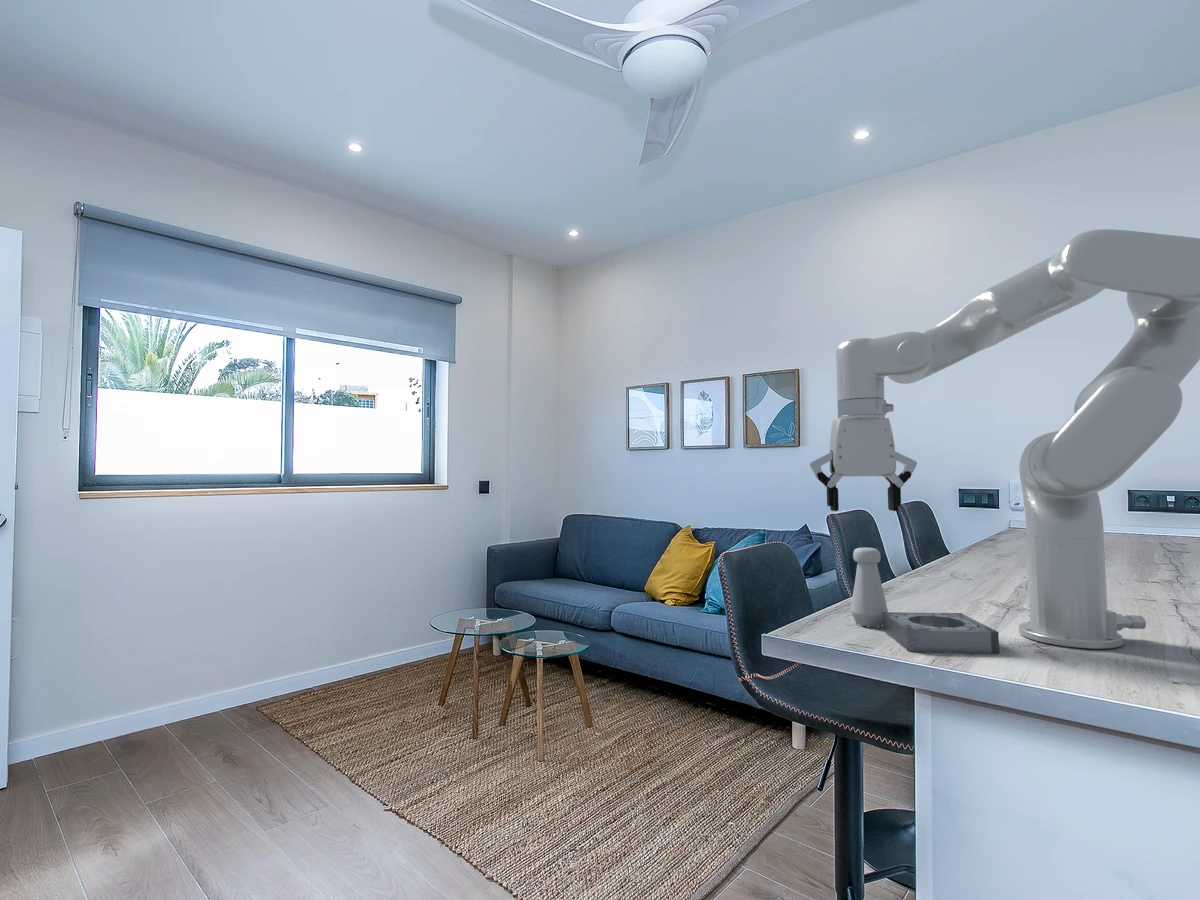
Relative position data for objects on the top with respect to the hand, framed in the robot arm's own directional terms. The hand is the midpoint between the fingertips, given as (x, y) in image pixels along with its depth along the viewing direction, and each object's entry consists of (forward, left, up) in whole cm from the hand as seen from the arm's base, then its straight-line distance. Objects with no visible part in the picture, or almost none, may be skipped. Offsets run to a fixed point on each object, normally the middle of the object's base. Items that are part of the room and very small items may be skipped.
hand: (863, 510), depth 105 cm
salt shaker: (0, 0, -20) cm, 20 cm away
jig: (-7, +10, -19) cm, 23 cm away
